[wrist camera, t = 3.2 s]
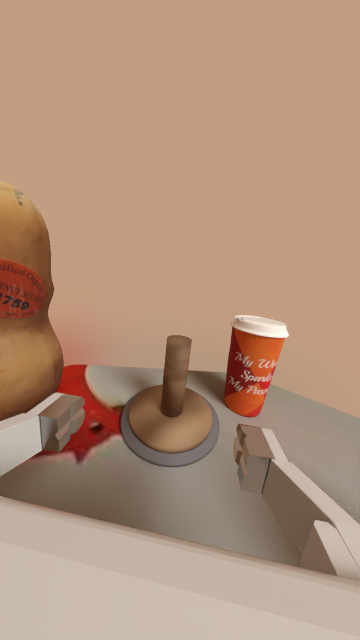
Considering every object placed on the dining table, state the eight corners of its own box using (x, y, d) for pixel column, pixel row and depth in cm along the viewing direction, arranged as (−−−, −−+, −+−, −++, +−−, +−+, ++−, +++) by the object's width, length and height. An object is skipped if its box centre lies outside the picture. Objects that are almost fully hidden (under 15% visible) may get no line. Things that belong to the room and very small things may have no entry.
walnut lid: (109, 427, 20) (111, 341, 18) (156, 381, 30) (161, 322, 28) (197, 473, 16) (215, 372, 14) (218, 403, 26) (230, 337, 24)
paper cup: (224, 421, 23) (243, 323, 20) (213, 387, 31) (226, 312, 28) (279, 425, 24) (306, 330, 21) (255, 391, 31) (272, 317, 28)
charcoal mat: (96, 433, 20) (96, 430, 19) (154, 379, 31) (154, 377, 31) (205, 494, 15) (205, 490, 15) (225, 404, 27) (225, 401, 27)
